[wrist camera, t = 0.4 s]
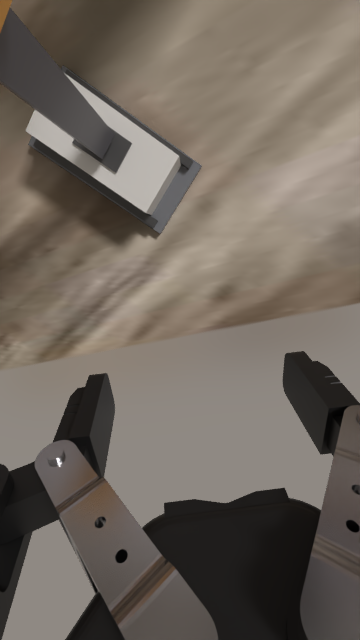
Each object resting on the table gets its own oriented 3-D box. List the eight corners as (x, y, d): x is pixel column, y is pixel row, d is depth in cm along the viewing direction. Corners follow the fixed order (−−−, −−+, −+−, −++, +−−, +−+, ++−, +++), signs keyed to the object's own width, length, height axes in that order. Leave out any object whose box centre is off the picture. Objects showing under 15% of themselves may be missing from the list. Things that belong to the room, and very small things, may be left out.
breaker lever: (121, 134, 29) (-45, -86, 9) (105, 165, 29) (-80, 32, 9) (93, 114, 28) (-148, -164, 8) (78, 147, 29) (-176, -34, 9)
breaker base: (201, 167, 36) (203, 155, 30) (160, 233, 38) (155, 234, 32) (66, 69, 33) (39, 35, 27) (32, 146, 36) (0, 130, 30)
